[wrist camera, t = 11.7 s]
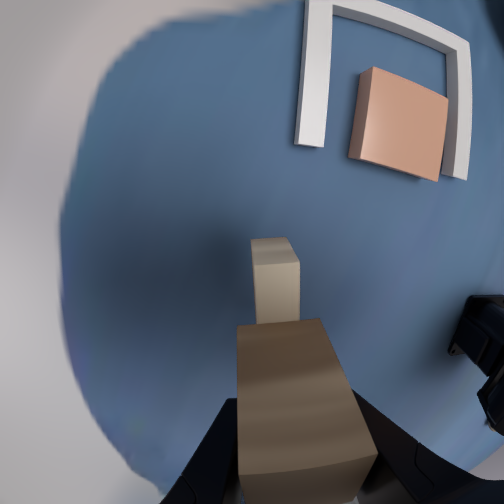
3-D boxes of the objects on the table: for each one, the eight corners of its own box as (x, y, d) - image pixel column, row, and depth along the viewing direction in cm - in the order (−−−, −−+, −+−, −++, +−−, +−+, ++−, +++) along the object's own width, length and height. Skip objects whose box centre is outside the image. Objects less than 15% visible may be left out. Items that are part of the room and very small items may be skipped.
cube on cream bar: (232, 240, 13) (225, 411, 4) (303, 235, 13) (406, 384, 4) (245, 376, 15) (253, 533, 7) (301, 370, 15) (340, 521, 7)
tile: (429, 102, 17) (448, 99, 15) (418, 177, 19) (437, 182, 16) (358, 74, 16) (373, 66, 14) (345, 157, 18) (359, 158, 16)
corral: (458, 46, 15) (468, 42, 13) (454, 177, 18) (466, 180, 17) (305, -7, 14) (310, -17, 13) (294, 144, 18) (298, 143, 16)
